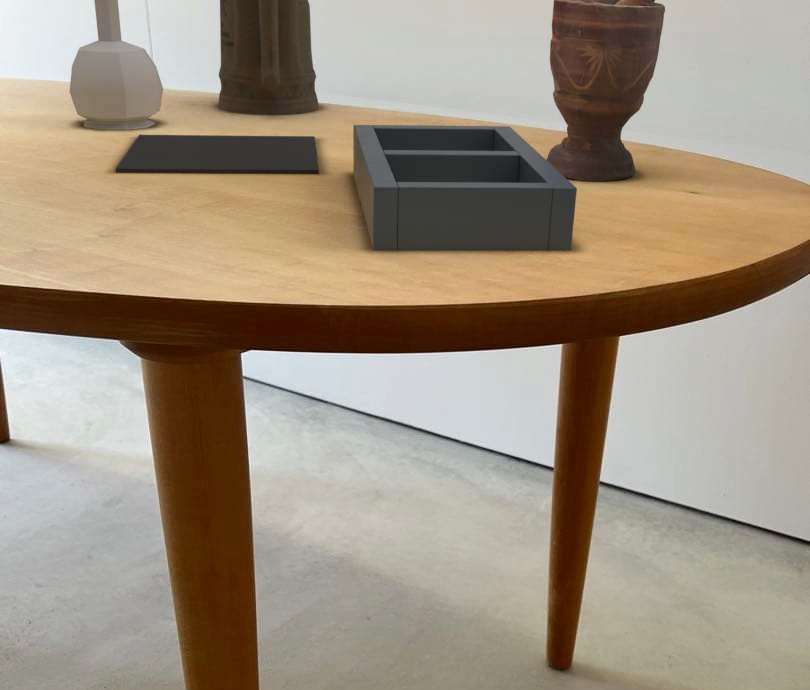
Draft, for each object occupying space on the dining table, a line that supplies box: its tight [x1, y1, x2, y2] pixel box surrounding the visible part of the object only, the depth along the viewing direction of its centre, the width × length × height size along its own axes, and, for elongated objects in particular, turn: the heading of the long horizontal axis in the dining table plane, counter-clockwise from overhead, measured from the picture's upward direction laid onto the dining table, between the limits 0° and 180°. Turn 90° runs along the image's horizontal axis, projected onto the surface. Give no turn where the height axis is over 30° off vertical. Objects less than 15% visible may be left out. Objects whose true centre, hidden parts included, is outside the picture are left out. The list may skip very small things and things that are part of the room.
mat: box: [115, 134, 320, 175], centre depth 95 cm, size 16×16×1 cm
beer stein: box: [218, 0, 319, 116], centre depth 114 cm, size 15×11×20 cm
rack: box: [352, 124, 578, 251], centre depth 78 cm, size 12×24×4 cm, turn 5°
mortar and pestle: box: [546, 0, 666, 182], centre depth 88 cm, size 12×9×20 cm
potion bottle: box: [69, 0, 164, 131], centre depth 104 cm, size 9×9×18 cm
